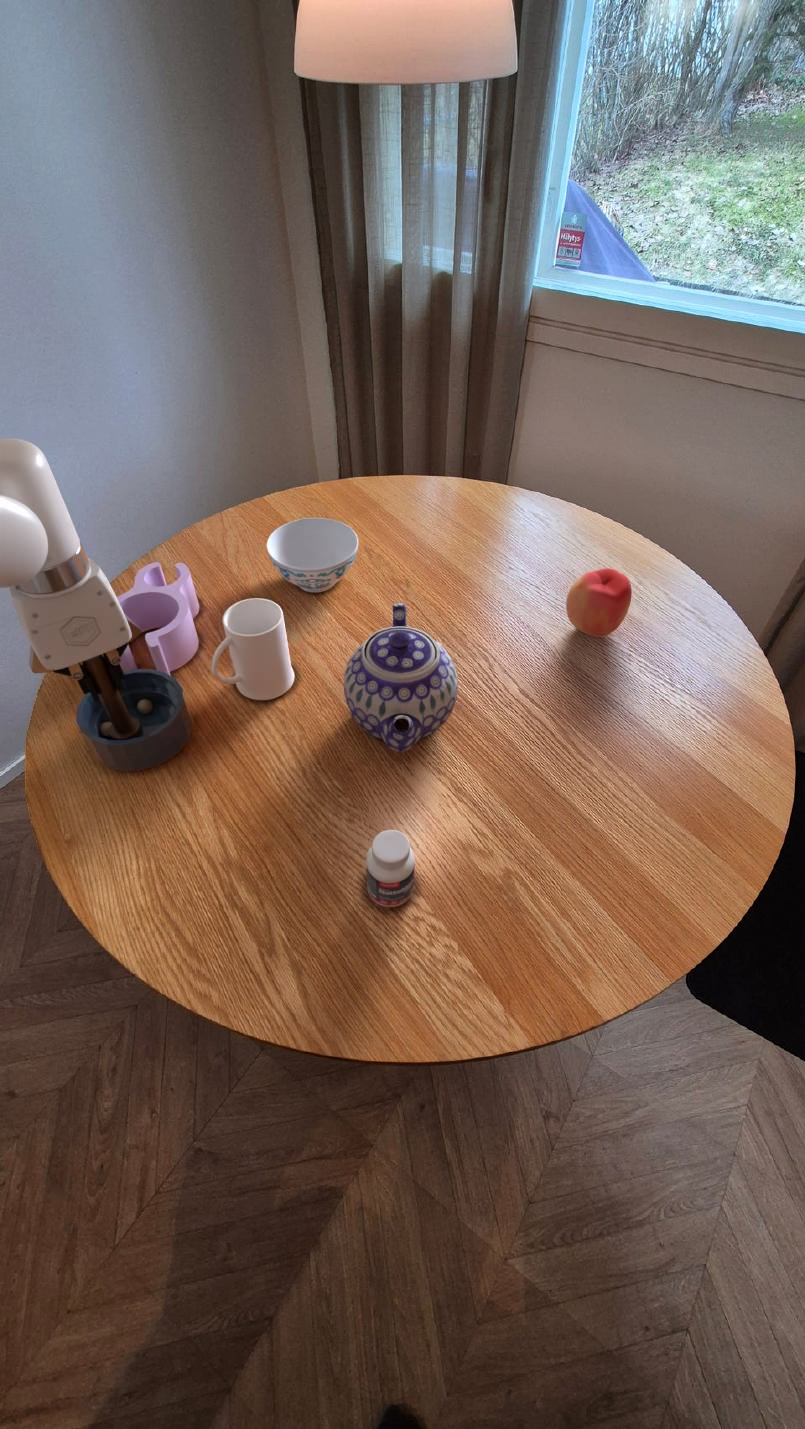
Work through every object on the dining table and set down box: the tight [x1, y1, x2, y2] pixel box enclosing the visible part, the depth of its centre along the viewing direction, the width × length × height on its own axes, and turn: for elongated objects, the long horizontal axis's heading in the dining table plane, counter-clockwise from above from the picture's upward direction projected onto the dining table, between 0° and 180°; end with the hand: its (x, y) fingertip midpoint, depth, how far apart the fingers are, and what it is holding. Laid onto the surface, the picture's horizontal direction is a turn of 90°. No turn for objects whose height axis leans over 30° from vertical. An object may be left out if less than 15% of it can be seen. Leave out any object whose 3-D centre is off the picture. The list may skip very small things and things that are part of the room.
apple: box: [565, 567, 633, 638], centre depth 102 cm, size 10×10×10 cm
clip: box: [116, 561, 200, 676], centre depth 101 cm, size 20×12×7 cm, turn 178°
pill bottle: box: [365, 829, 416, 908], centre depth 72 cm, size 5×5×9 cm
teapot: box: [343, 602, 459, 753], centre depth 88 cm, size 25×15×15 cm, turn 178°
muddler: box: [81, 654, 143, 740], centre depth 83 cm, size 4×4×14 cm
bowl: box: [75, 668, 194, 772], centre depth 88 cm, size 13×13×6 cm
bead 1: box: [100, 722, 112, 737], centre depth 89 cm, size 2×2×2 cm
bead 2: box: [137, 699, 153, 714], centre depth 92 cm, size 2×2×2 cm
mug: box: [211, 597, 295, 701], centre depth 93 cm, size 12×8×12 cm
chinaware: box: [265, 517, 359, 593], centre depth 111 cm, size 15×15×8 cm
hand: (105, 687), depth 82 cm, fingers closed on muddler, 2 cm apart
